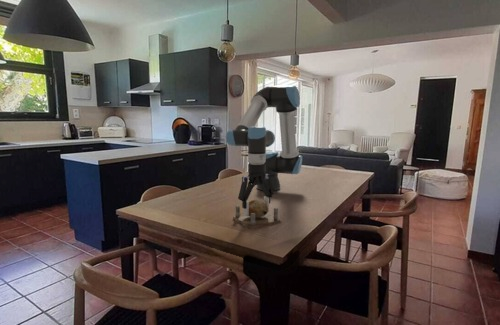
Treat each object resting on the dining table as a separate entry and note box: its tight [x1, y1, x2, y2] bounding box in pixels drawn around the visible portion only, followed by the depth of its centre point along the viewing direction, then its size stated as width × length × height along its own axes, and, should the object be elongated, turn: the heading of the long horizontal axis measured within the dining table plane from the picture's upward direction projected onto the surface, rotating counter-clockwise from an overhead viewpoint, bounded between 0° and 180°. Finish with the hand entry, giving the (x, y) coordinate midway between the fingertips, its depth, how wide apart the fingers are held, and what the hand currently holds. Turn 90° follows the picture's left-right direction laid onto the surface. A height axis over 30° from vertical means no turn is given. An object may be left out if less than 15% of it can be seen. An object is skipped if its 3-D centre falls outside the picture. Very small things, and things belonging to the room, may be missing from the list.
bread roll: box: [249, 199, 268, 217], centre depth 123 cm, size 10×10×8 cm
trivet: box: [232, 205, 281, 231], centre depth 123 cm, size 15×15×6 cm
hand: (256, 213), depth 123 cm, fingers closed on bread roll, 10 cm apart
